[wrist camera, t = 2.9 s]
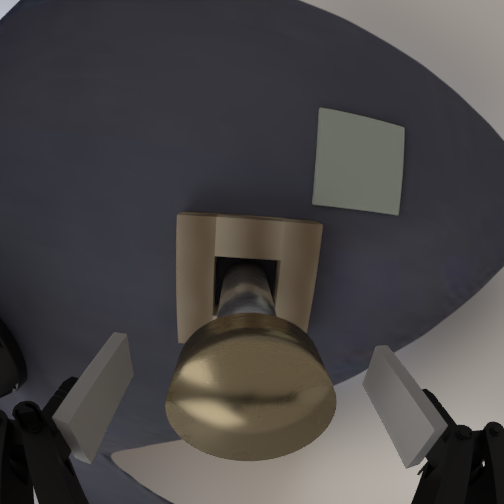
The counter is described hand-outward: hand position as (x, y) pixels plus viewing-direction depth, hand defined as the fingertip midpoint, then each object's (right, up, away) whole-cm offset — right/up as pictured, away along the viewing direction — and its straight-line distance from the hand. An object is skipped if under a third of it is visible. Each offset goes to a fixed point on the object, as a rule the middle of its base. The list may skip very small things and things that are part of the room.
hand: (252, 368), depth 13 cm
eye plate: (-1, +3, +13) cm, 13 cm away
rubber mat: (+10, +14, +11) cm, 21 cm away
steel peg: (-1, +3, +13) cm, 13 cm away
